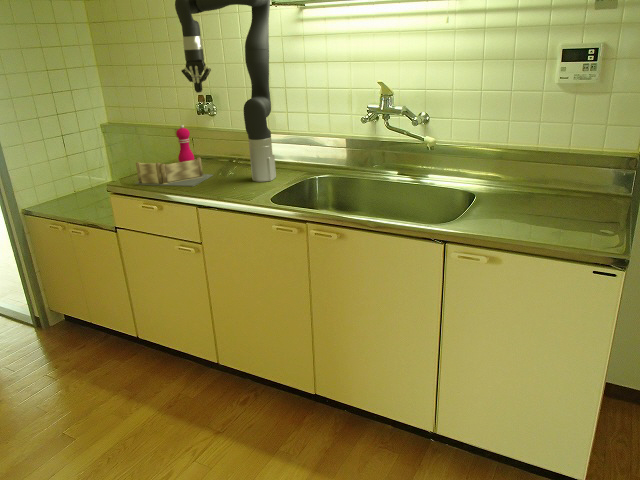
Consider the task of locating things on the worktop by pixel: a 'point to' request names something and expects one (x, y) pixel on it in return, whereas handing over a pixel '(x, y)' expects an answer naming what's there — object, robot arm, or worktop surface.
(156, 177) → the fence frame
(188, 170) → the fence gate
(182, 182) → the card
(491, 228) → the worktop surface
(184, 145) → the pepper mill
